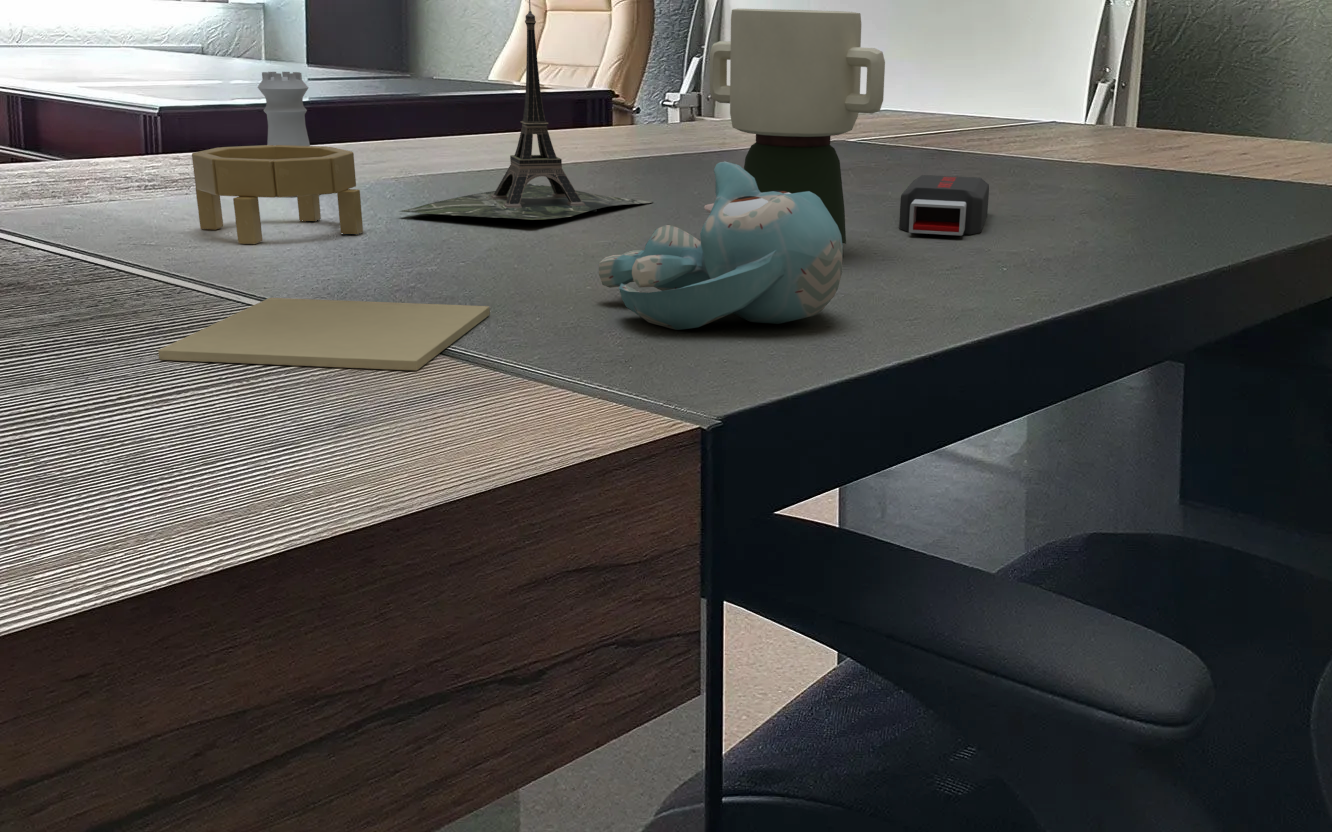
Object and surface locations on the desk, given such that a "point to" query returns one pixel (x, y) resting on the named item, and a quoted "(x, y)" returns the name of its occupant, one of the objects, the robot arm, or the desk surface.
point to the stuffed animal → (736, 260)
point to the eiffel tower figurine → (528, 170)
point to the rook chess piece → (285, 108)
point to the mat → (330, 334)
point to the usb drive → (944, 205)
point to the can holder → (274, 184)
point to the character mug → (796, 95)
